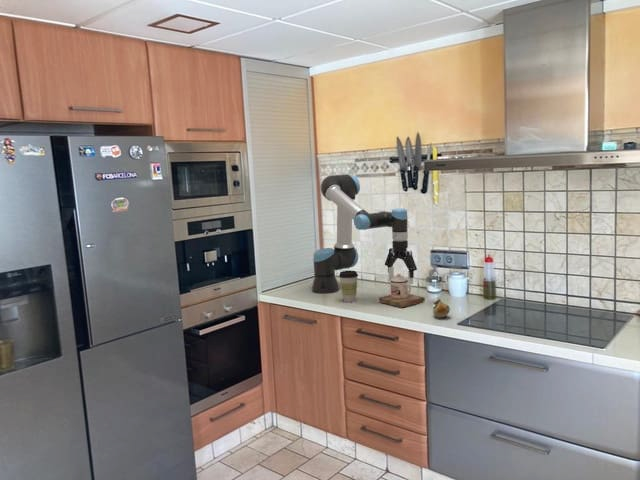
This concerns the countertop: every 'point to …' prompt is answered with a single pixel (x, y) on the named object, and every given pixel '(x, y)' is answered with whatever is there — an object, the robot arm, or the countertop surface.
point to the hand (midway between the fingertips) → (400, 282)
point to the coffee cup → (348, 285)
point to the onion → (440, 309)
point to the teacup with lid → (399, 287)
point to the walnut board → (402, 300)
